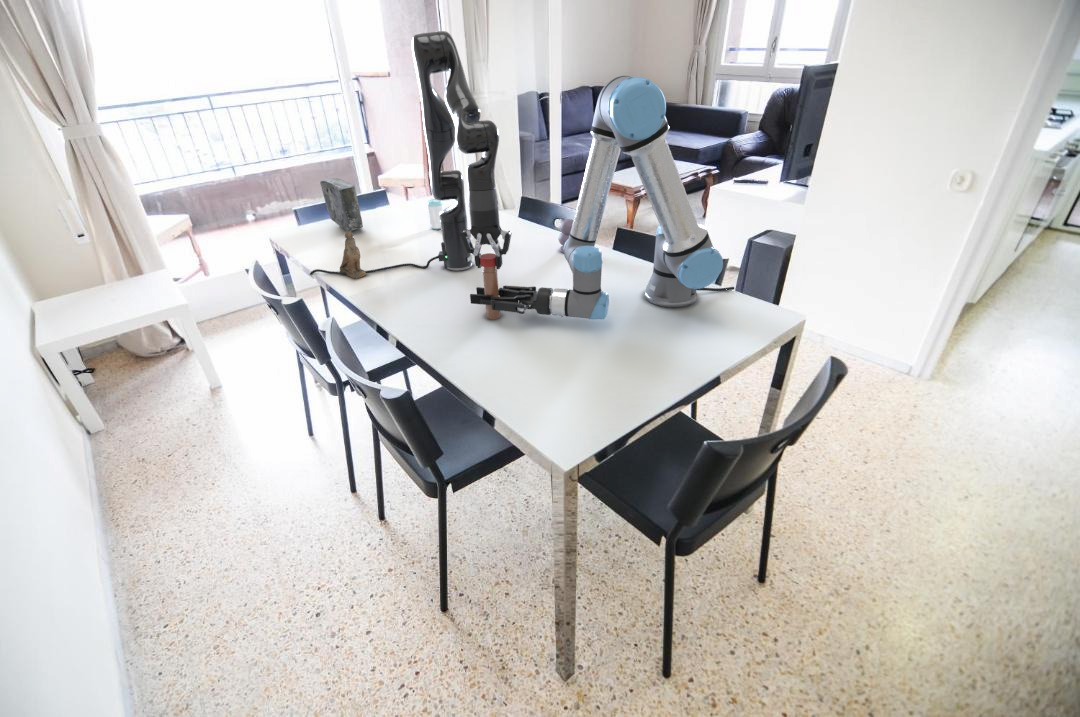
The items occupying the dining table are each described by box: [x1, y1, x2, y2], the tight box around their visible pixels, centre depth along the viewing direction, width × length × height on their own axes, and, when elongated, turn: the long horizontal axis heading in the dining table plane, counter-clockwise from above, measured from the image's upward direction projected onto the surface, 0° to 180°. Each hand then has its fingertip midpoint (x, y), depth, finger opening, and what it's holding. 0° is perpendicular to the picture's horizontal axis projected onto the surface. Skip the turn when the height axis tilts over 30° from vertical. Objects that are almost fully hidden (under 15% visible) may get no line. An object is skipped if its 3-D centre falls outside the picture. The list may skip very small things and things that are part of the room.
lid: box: [480, 252, 496, 268], centre depth 137 cm, size 5×5×2 cm
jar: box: [482, 266, 501, 320], centre depth 141 cm, size 4×4×16 cm
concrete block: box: [319, 177, 364, 232], centre depth 222 cm, size 27×9×20 cm, turn 36°
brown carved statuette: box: [339, 230, 367, 280], centre depth 174 cm, size 12×6×18 cm, turn 43°
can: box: [426, 198, 445, 230], centre depth 220 cm, size 7×7×12 cm
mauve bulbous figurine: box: [558, 218, 574, 254], centre depth 188 cm, size 8×8×12 cm
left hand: (489, 267), depth 138 cm, fingers closed on lid, 4 cm apart
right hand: (474, 295), depth 144 cm, fingers closed on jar, 4 cm apart
